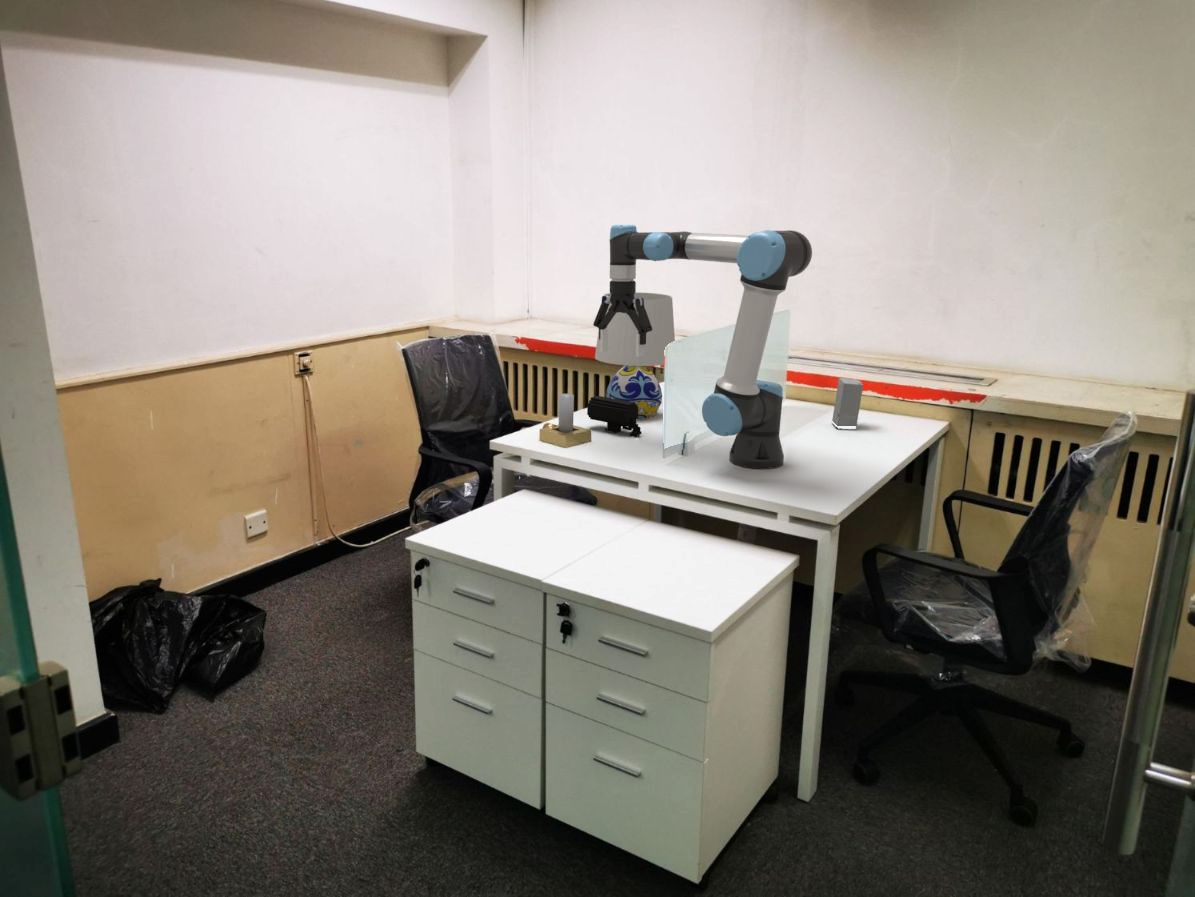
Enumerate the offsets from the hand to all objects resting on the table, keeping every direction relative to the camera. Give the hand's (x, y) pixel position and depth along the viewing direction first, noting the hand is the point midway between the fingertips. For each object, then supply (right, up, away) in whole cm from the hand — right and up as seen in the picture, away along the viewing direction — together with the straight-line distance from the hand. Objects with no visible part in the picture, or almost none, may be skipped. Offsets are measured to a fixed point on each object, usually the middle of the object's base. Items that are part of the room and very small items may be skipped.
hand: (621, 353), depth 264 cm
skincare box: (+74, -21, +32) cm, 83 cm away
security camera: (-2, -23, +19) cm, 30 cm away
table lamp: (+5, -17, +41) cm, 45 cm away
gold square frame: (-18, -25, +8) cm, 32 cm away
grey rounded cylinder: (-17, -26, +7) cm, 31 cm away
